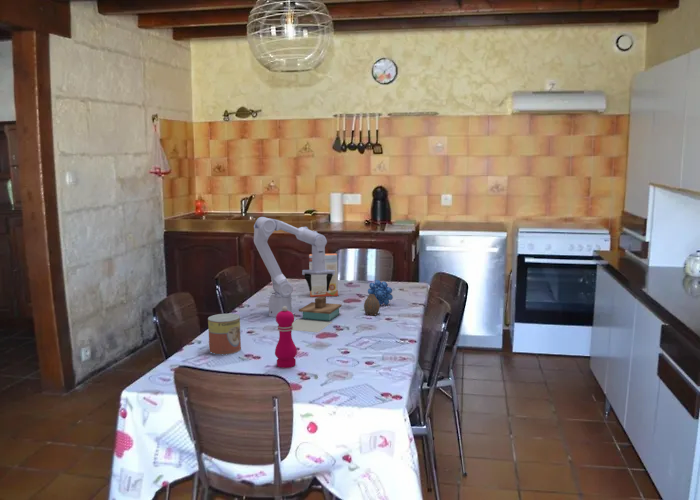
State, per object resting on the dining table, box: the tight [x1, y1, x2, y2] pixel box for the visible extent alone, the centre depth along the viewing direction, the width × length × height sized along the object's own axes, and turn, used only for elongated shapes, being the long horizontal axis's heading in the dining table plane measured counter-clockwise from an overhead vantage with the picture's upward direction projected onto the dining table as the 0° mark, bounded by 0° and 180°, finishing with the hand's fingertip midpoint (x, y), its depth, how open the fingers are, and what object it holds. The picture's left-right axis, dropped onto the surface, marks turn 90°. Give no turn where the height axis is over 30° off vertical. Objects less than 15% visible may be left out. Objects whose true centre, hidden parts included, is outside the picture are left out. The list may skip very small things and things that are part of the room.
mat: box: [292, 318, 333, 333], centre depth 249 cm, size 16×16×1 cm
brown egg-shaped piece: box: [363, 293, 381, 316], centre depth 267 cm, size 7×7×9 cm
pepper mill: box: [274, 306, 298, 369], centre depth 202 cm, size 7×7×20 cm
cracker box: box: [308, 252, 339, 298], centre depth 304 cm, size 14×6×21 cm, turn 94°
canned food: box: [207, 313, 242, 356], centre depth 219 cm, size 11×11×12 cm
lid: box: [298, 296, 343, 314], centre depth 262 cm, size 14×14×5 cm
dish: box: [302, 308, 340, 322], centre depth 263 cm, size 12×12×4 cm
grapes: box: [367, 279, 394, 306], centre depth 282 cm, size 12×7×12 cm, turn 86°
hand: (319, 290), depth 273 cm, fingers open, 7 cm apart
